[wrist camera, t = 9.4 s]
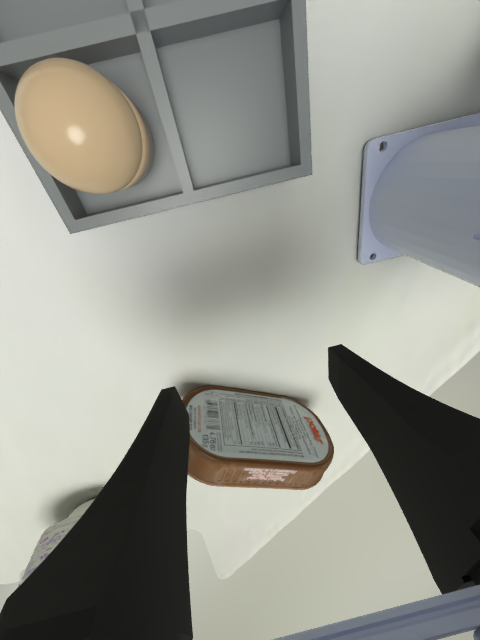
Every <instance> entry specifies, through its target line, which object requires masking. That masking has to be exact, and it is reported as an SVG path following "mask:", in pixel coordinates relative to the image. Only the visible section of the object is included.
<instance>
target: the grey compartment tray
mask: <svg viewBox="0 0 480 640" xmlns="http://www.w3.org/2000/svg"><path fill="white" fill-rule="evenodd" d="M48 58H67V59H72V60H76V61H79V62H82V63H85V64H87V65H89V66H90V67H92V68H94V69H96V70H97V71H99V72H100V73H102V74H103V75H104V76H106V77H107V78H108V79H109V80H110V81H112V82H113V83H114V84H115V85H116V86H117V87H118V88H119V89H120V90H121V91H122V92H123V93H124V94H125V95H126V96H127V97H128V98H129V99H130V100H131V101H132V102H133V103H134V104H135V105H136V106H137V107H138V108H139V109H140V111H141V112H142V113H143V115H144V117H145V118H146V120H147V122H148V124H149V126H150V129H151V132H152V135H153V139H154V148H155V154H154V161H153V165H152V168H151V170H150V172H149V174H148V175H147V176H146V178H145V179H144V180H143V181H141V182H140V183H139V184H137V185H135V186H132V187H129V188H126V189H123V190H120V191H117V192H114V193H110V194H89V193H85V192H81V191H78V190H75V189H73V188H71V187H69V186H67V185H65V184H63V183H62V182H60V181H59V180H57V179H56V178H54V177H53V176H52V175H51V174H49V173H48V172H47V171H46V170H45V169H44V168H43V167H42V166H41V165H40V164H39V163H38V162H37V160H36V159H35V158H34V156H33V155H32V154H31V152H30V151H29V149H28V147H27V146H26V144H25V142H24V140H23V138H22V136H21V133H20V131H19V128H18V125H17V121H16V116H15V106H14V100H15V92H16V89H17V85H18V83H19V81H20V78H21V77H22V75H23V74H24V72H25V71H26V70H27V69H28V68H29V67H30V66H32V65H33V64H35V63H37V62H39V61H42V60H45V59H48ZM0 110H1V112H2V114H3V116H4V117H5V119H6V121H7V123H8V124H9V126H10V128H11V130H12V132H13V133H14V135H15V137H16V139H17V140H18V142H19V144H20V146H21V147H22V149H23V151H24V153H25V155H26V156H27V158H28V160H29V162H30V163H31V165H32V167H33V169H34V170H35V172H36V174H37V176H38V178H39V179H40V181H41V183H42V185H43V186H44V188H45V190H46V192H47V193H48V195H49V197H50V199H51V201H52V202H53V204H54V206H55V208H56V209H57V211H58V213H59V215H60V216H61V218H62V220H63V222H64V224H65V225H66V227H67V229H68V231H69V232H70V234H72V233H76V232H80V231H84V230H88V229H92V228H96V227H100V226H105V225H109V224H113V223H117V222H121V221H125V220H129V219H133V218H137V217H141V216H145V215H149V214H153V213H157V212H162V211H166V210H170V209H174V208H178V207H182V206H186V205H190V204H194V203H198V202H202V201H206V200H210V199H214V198H219V197H223V196H227V195H231V194H235V193H239V192H243V191H247V190H251V189H255V188H259V187H263V186H267V185H271V184H276V183H280V182H284V181H288V180H292V179H296V178H300V177H304V176H308V175H312V156H311V130H310V103H309V77H308V51H307V25H306V0H0Z"/></svg>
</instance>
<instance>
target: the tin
mask: <svg viewBox="0 0 480 640" xmlns="http://www.w3.org/2000/svg"><path fill="white" fill-rule="evenodd" d="M182 401H183V403H184V405H185V407H186V409H187V411H188V413H189V424H190V445H189V460H188V475H189V476H191V477H192V478H194V479H195V480H197V481H199V482H201V483H204V484H207V485H212V486H221V487H248V488H274V489H292V490H304V489H309V488H311V487H313V486H315V485H316V484H317V483H318V482H319V481H320V480H321V478H322V476H323V473H324V472H325V471H326V469H327V468H328V466H329V465H330V463H331V461H332V459H333V454H334V446H333V443H332V441H331V438H330V436H329V434H328V432H327V430H326V429H325V427H324V426H323V424H322V423H321V421H320V419H319V418H318V417H317V416H316V415H315V414H314V413H313V412H312V411H311V410H310V409H308V408H307V407H306V406H304V405H303V404H301V403H299V402H297V401H295V400H293V399H291V398H288V397H284V396H278V395H272V394H265V393H259V392H253V391H246V390H240V389H234V388H227V387H221V386H205V387H200V388H197V389H195V390H193V391H191V392H190V393H188V394H187V395H186V396H185V397H184V398H183V399H182Z"/></svg>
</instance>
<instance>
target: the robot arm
mask: <svg viewBox="0 0 480 640" xmlns="http://www.w3.org/2000/svg"><path fill="white" fill-rule="evenodd" d="M381 142H383V149H382V150H381V151H380V150H379V146H380V144H381ZM371 254H373V256H372V258H370V255H371ZM401 255H406V256H408V257H411V258H413V259H415V260H418V261H420V262H422V263H425V264H427V265H429V266H432V267H434V268H436V269H439V270H441V271H443V272H446V273H448V274H450V275H453V276H455V277H457V278H460V279H462V280H464V281H467V282H469V283H471V284H474V285H476V286H478V287H480V113H476V114H472V115H468V116H463V117H459V118H455V119H451V120H447V121H443V122H439V123H435V124H431V125H427V126H423V127H419V128H414V129H410V130H406V131H402V132H398V133H394V134H390V135H386V136H382V137H378V138H374V139H371V140H369V141H368V142H367V144H366V146H365V149H364V161H363V178H362V195H361V212H360V229H359V246H358V261H359V263H361V264H363V265H364V264H369V263H373V262H377V261H381V260H385V259H389V258H393V257H397V256H401ZM328 369H329V381H330V383H331V385H332V387H333V389H334V391H335V393H336V395H337V397H338V399H339V400H340V402H341V404H342V405H343V407H344V408H345V410H346V411H347V413H348V415H349V416H350V418H351V419H352V421H353V422H354V424H355V425H356V427H357V428H358V430H359V432H360V433H361V435H362V436H363V438H364V439H365V441H366V442H367V444H368V446H369V447H370V449H371V450H372V452H373V454H374V456H375V458H376V460H377V462H378V464H379V466H380V468H381V469H382V471H383V473H384V475H385V477H386V479H387V481H388V483H389V485H390V487H391V489H392V491H393V493H394V495H395V497H396V499H397V501H398V503H399V505H400V507H401V509H402V511H403V513H404V515H405V517H406V519H407V522H408V523H409V526H410V528H411V530H412V532H413V534H414V536H415V538H416V541H417V543H418V545H419V547H420V550H421V552H422V554H423V556H424V558H425V560H426V563H427V565H428V567H429V570H430V572H431V574H432V576H433V579H434V581H435V582H436V584H437V586H438V588H439V589H440V591H441V593H442V595H439V596H435V597H432V598H428V599H424V600H420V601H416V602H412V603H409V604H405V605H402V606H397V607H394V608H390V609H386V610H382V611H378V612H375V613H371V614H367V615H363V616H359V617H356V618H352V619H348V620H345V621H341V622H337V623H333V624H330V625H325V626H322V627H318V628H314V629H311V630H307V631H303V632H299V633H295V634H292V635H288V636H284V637H280V638H276V639H273V640H437V639H441V638H445V637H449V636H452V635H456V634H460V633H464V632H467V631H471V630H475V629H476V630H475V631H474V635H473V636H474V640H480V419H479V418H476V417H474V416H472V415H469V414H467V413H464V412H462V411H459V410H457V409H455V408H452V407H450V406H448V405H446V404H443V403H441V402H439V401H437V400H435V399H432V398H431V397H429V396H427V395H425V394H422V393H420V392H419V391H417V390H415V389H413V388H411V387H409V386H407V385H405V384H404V383H402V382H400V381H398V380H396V379H395V378H393V377H391V376H390V375H388V374H386V373H385V372H383V371H381V370H380V369H378V368H377V367H375V366H373V365H372V364H370V363H369V362H367V361H366V360H364V359H363V358H361V357H360V356H358V355H357V354H355V353H354V352H352V351H351V350H349V349H348V348H346V347H345V346H343V345H342V344H340V345H336V346H332V347H328ZM189 445H190V424H189V413H188V411H187V409H186V407H185V405H184V403H183V401H182V400H181V398H180V396H179V394H178V392H177V390H176V388H175V386H174V387H170V388H166V389H162V390H161V392H160V394H159V395H158V397H157V399H156V401H155V403H154V405H153V407H152V409H151V411H150V413H149V415H148V417H147V419H146V421H145V422H144V424H143V426H142V428H141V430H140V432H139V433H138V435H137V437H136V439H135V440H134V442H133V444H132V445H131V447H130V449H129V450H128V452H127V454H126V455H125V457H124V458H123V460H122V462H121V463H120V465H119V466H118V468H117V469H116V471H115V472H114V474H113V475H112V477H111V478H110V479H109V481H108V482H107V484H106V485H105V486H104V488H103V489H102V491H101V492H100V493H99V495H98V496H97V497H96V499H95V500H94V501H93V502H92V504H91V505H90V506H89V508H88V509H87V510H86V511H85V513H84V514H83V515H82V517H81V518H80V519H79V520H78V521H77V523H76V524H75V525H74V526H73V527H72V529H71V530H70V531H69V532H68V533H67V534H66V536H65V537H64V538H63V539H62V540H61V541H60V543H59V544H58V545H57V546H56V547H55V548H54V549H53V551H52V552H51V553H50V554H49V555H48V556H47V557H46V558H45V559H44V560H43V562H42V563H41V564H40V565H39V566H38V567H37V568H36V569H35V570H34V571H33V572H32V573H31V574H30V575H29V576H28V577H27V579H26V580H25V581H24V582H23V583H22V584H21V585H20V586H19V587H18V588H17V589H16V590H15V591H14V592H13V593H12V594H11V596H9V597H8V598H7V600H6V602H5V604H4V606H3V609H2V611H1V613H0V640H192V639H193V632H192V621H191V605H190V591H189V575H188V556H187V526H186V488H187V474H188V460H189Z"/></svg>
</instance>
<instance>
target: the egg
mask: <svg viewBox="0 0 480 640" xmlns="http://www.w3.org/2000/svg"><path fill="white" fill-rule="evenodd" d="M14 106H15V116H16V121H17V125H18V128H19V131H20V133H21V136H22V138H23V140H24V142H25V144H26V146H27V147H28V149H29V151H30V152H31V154H32V155H33V156H34V158H35V159H36V160H37V162H38V163H39V164H40V165H41V166H42V167H43V168H44V169H45V170H46V171H47V172H48V173H49V174H51V175H52V176H53V177H54V178H56V179H57V180H59V181H60V182H62V183H63V184H65V185H67V186H69V187H71V188H73V189H75V190H78V191H81V192H85V193H89V194H110V193H114V192H117V191H120V190H123V189H126V188H129V187H132V186H135V185H137V184H139V183H140V182H141V181H143V180H144V179H145V178H146V176H147V175H148V174H149V172H150V170H151V168H152V165H153V161H154V154H155V148H154V139H153V135H152V132H151V129H150V126H149V124H148V122H147V120H146V118H145V117H144V115H143V113H142V112H141V111H140V109H139V108H138V107H137V106H136V105H135V104H134V103H133V102H132V101H131V100H130V99H129V98H128V97H127V96H126V95H125V94H124V93H123V92H122V91H121V90H120V89H119V88H118V87H117V86H116V85H115V84H114V83H113V82H112V81H110V80H109V79H108V78H107V77H106V76H104V75H103V74H102V73H100V72H99V71H97V70H96V69H94V68H92V67H90V66H89V65H87V64H85V63H82V62H79V61H76V60H72V59H67V58H48V59H45V60H42V61H39V62H37V63H35V64H33V65H32V66H30V67H29V68H28V69H27V70H26V71H25V72H24V74H23V75H22V77H21V78H20V81H19V83H18V85H17V89H16V92H15V100H14Z"/></svg>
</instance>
